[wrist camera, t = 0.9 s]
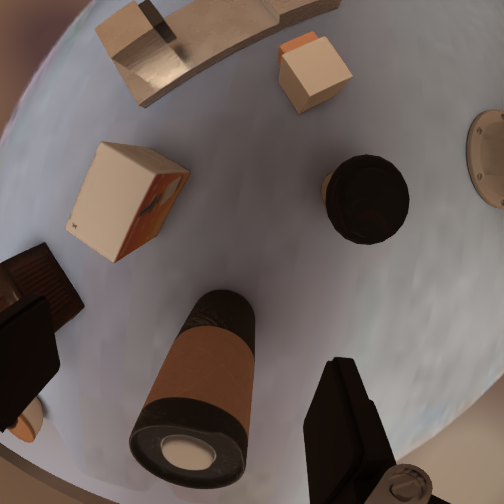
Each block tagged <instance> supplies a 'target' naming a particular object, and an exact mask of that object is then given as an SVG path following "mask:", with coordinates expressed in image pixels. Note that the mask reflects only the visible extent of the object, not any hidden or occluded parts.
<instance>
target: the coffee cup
mask: <svg viewBox="0 0 504 504" xmlns="http://www.w3.org/2000/svg"><path fill="white" fill-rule="evenodd" d="M321 195H322V199H323V201H324V203H325V205H326V209H327V214H328V218H329V219H330V221H331V223H332V225H333V226H334V228H335V230H336V231H338V232H339V233H340V234H341V235H342V236H343V237H344V238H345V239H347V240H350V241H352V242H354V243H356V244H365V245H372V244H376V243H380V242H383V241H385V240H386V239H388V238H389V237H391V236H393V235H394V234H395V233H396V232H397V231H398V230H399V228H400V227H401V226H402V225H403V223H404V221H405V218H406V216H407V214H408V208H409V200H410V199H409V193H408V187H407V184H406V182H405V180H404V178H403V176H402V174H401V172H400V171H399V170H398V169H397V168H396V167H395V166H394V165H393V164H392V163H391V162H389V161H387V160H385V159H383V158H382V157H380V156H374V155H367V154H366V155H361V156H355V157H352V158H351V159H349V160H347V161H345V162H344V163H342V164H341V165H340V166H339V167H338V168H337V169H336V170H335V171H333V172H331V173H330V174H328V175H327V177H326V178H325V179H324V181H323V183H322V187H321Z"/></svg>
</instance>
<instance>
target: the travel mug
mask: <svg viewBox="0 0 504 504" xmlns="http://www.w3.org/2000/svg"><path fill="white" fill-rule="evenodd" d="M254 366H255V316H254V312H253V309H252V307H251V305H250V304H249V303H248V301H247V300H246V299H245V298H243V297H242V296H240V295H239V294H237V293H235V292H232V291H227V290H216V291H212V292H209V293H207V294H205V295H204V296H202V297H201V298H200V299H199V300H198V302H197V303H196V305H195V306H194V308H193V309H192V311H191V313H190V315H189V316H188V318H187V320H186V321H185V323H184V325H183V327H182V328H181V330H180V332H179V334H178V335H177V337H176V339H175V341H174V342H173V344H172V346H171V348H170V351H169V353H168V355H167V357H166V359H165V361H164V363H163V365H162V367H161V369H160V372H159V374H158V376H157V378H156V380H155V382H154V384H153V386H152V389H151V391H150V393H149V395H148V397H147V399H146V402H145V404H144V406H143V408H142V410H141V413H140V415H139V417H138V419H137V421H136V423H135V426H134V428H133V430H132V433H131V435H130V438H129V447H130V451H131V453H132V455H133V457H134V458H135V459H136V461H137V462H138V463H139V464H140V465H141V466H142V467H144V468H145V469H146V470H147V471H149V472H150V473H152V474H153V475H155V476H157V477H159V478H161V479H163V480H165V481H167V482H170V483H173V484H176V485H179V486H183V487H188V488H195V489H215V488H221V487H225V486H228V485H231V484H233V483H235V482H236V481H238V480H239V479H240V478H241V477H242V475H243V474H244V471H245V468H246V458H247V447H248V436H249V425H250V414H251V402H252V390H253V378H254Z"/></svg>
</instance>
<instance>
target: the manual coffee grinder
mask: <svg viewBox="0 0 504 504" xmlns="http://www.w3.org/2000/svg"><path fill="white" fill-rule="evenodd" d="M30 292H35V293H38V294H41V295H44V296H45V297H46V298H47V300H48V302H49V303H50V307H51V315H52V322H53V328H54V333H55V332H56V331H57V330H59V329H60V328H61V327H62V326H63V325H64V324H66V323H67V322H69V321H70V320H72V319H73V318H74V317H75V316H76V315H77V314H78V313H79V312H80V311H81V310H82V309H83V308H84V304H83V302H82V300H81V298H80V296H79V295H78V293H77V292H76V290H75V288H74V287H73V285H72V284H71V282H70V281H69V279H68V278H67V276H66V274H65V273H64V271H63V270H62V268H61V266H60V265H59V263H58V262H57V260H56V259H55V257H54V256H53V254H52V253H51V251H50V249H49V248H48V246H47V245H46V243H42V244H40V245H38V246H35V247H33V248H31V249H28V250H26V251H24V252H22V253H20V254H18V255H16V256H13V257H11V258H9V259H7V260H5V261H3V262H2V263H0V312H1V311H3V310H4V309H6V308H7V307H9V306H10V305H12V304H13V303H15V302H16V301H18V300H19V299H21V298H22V297H24V296H25V295H27V294H28V293H30ZM17 423H18V418H17V420H16V421H15V422H14V423H13V425H12V426H11V427H7V428H6V429H11V430H12V429H14V428H15V427H16V425H17Z"/></svg>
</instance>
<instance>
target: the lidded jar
mask: <svg viewBox="0 0 504 504" xmlns="http://www.w3.org/2000/svg"><path fill="white" fill-rule="evenodd" d="M42 423H43V412H42V405H41V403H40V401H39V399H38V398H37V397H35V398H34V399H33V401H32V402H31V403H30V404H29V405H28V407H27V408H26V409H25V410H24V411H23V412H22V414H21V415H20V416H19V417H18V423H17V425H16V427H15V428H14V429H12V430H11V429H8V430H9V431H10V432H11V433H12V434H14V435H15V436H16V437H18V438H19V439H21V440H23V441H25V442H29V443H30V442H33V441H34V439H35V437H36V435H37V434H38V432H39V431H40V429H41V426H42Z"/></svg>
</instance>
